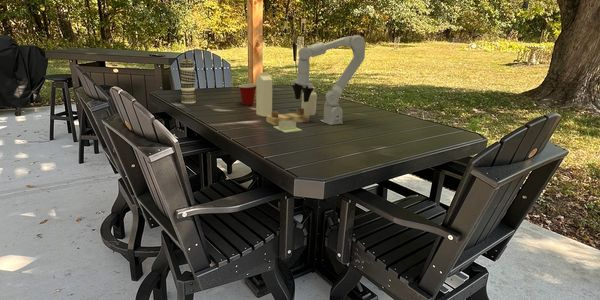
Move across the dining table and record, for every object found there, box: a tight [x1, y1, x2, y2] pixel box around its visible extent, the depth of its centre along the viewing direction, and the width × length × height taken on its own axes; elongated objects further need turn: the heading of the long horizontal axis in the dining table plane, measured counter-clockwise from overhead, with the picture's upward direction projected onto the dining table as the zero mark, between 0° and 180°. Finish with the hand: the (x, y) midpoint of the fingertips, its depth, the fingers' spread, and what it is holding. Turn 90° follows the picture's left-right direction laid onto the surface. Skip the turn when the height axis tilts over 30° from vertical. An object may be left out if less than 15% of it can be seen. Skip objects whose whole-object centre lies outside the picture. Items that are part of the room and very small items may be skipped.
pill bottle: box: [300, 86, 318, 117], centre depth 208 cm, size 8×8×15 cm
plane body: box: [265, 107, 310, 126], centre depth 192 cm, size 20×8×6 cm, turn 122°
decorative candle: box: [178, 58, 197, 104], centre depth 228 cm, size 9×9×25 cm
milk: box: [255, 72, 273, 117], centre depth 202 cm, size 6×6×22 cm
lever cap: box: [278, 120, 297, 130], centre depth 178 cm, size 7×4×3 cm, turn 123°
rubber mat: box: [273, 125, 303, 134], centre depth 178 cm, size 11×9×1 cm
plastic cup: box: [238, 83, 256, 107], centre depth 229 cm, size 11×11×12 cm
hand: (301, 100), depth 192 cm, fingers open, 7 cm apart
